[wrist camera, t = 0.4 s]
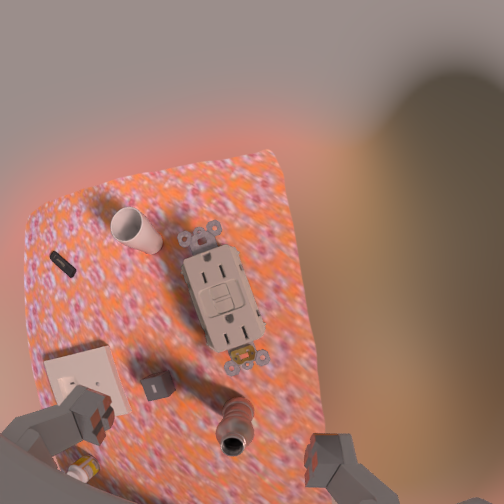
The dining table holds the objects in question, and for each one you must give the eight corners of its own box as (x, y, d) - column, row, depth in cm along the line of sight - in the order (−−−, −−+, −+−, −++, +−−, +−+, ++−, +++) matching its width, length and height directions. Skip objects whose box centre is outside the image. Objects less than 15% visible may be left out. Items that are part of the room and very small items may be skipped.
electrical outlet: (228, 225, 65) (225, 213, 55) (275, 351, 61) (280, 361, 51) (178, 244, 64) (166, 235, 54) (223, 369, 60) (219, 382, 51)
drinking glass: (134, 236, 65) (105, 216, 50) (160, 223, 66) (136, 199, 51) (144, 263, 64) (116, 249, 49) (171, 249, 64) (148, 231, 50)
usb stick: (78, 270, 64) (75, 269, 62) (73, 279, 64) (70, 278, 62) (56, 250, 65) (52, 249, 63) (51, 259, 65) (48, 258, 63)
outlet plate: (132, 410, 57) (127, 414, 55) (69, 419, 56) (64, 421, 53) (109, 345, 60) (104, 346, 58) (49, 360, 59) (43, 361, 56)
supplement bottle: (80, 462, 53) (61, 476, 43) (86, 450, 54) (66, 464, 44) (97, 475, 53) (79, 491, 43) (103, 463, 54) (85, 479, 44)
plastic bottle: (217, 412, 57) (202, 451, 38) (234, 388, 58) (225, 420, 39) (243, 427, 56) (238, 470, 37) (260, 404, 58) (262, 441, 38)
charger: (175, 389, 58) (168, 397, 52) (157, 394, 58) (148, 401, 52) (168, 370, 59) (160, 375, 53) (150, 374, 59) (140, 380, 53)
